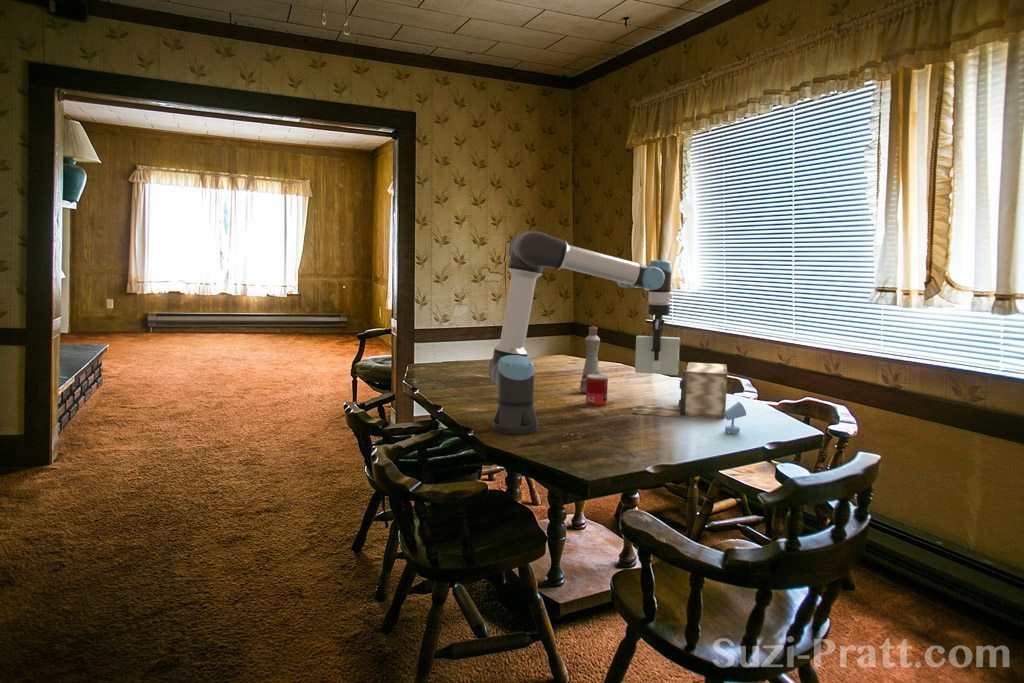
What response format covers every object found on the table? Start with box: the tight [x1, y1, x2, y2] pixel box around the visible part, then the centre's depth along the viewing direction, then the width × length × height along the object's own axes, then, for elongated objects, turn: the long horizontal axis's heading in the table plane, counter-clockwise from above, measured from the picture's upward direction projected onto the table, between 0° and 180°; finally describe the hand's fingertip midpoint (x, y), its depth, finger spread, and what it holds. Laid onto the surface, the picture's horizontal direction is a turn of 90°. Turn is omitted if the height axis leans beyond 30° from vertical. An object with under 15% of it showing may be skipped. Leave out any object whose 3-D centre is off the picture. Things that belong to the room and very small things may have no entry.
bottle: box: [579, 325, 601, 395], centre depth 273 cm, size 9×9×28 cm
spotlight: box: [724, 401, 747, 434], centre depth 215 cm, size 5×10×7 cm
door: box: [634, 335, 681, 376], centre depth 238 cm, size 15×4×13 cm, turn 73°
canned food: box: [585, 374, 609, 407], centre depth 253 cm, size 8×8×11 cm
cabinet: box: [632, 361, 728, 419], centre depth 246 cm, size 32×25×16 cm
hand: (656, 368), depth 239 cm, fingers closed on door, 4 cm apart
